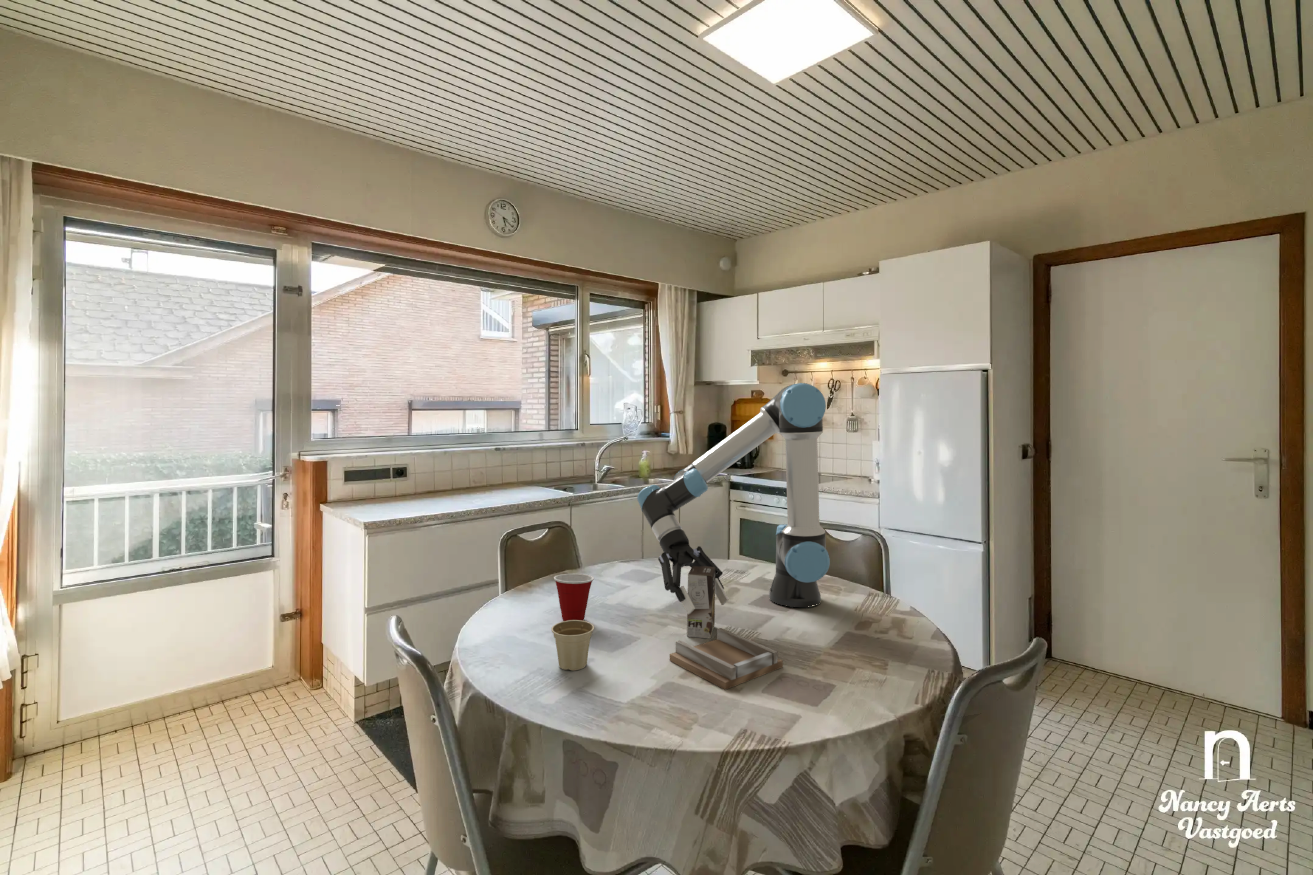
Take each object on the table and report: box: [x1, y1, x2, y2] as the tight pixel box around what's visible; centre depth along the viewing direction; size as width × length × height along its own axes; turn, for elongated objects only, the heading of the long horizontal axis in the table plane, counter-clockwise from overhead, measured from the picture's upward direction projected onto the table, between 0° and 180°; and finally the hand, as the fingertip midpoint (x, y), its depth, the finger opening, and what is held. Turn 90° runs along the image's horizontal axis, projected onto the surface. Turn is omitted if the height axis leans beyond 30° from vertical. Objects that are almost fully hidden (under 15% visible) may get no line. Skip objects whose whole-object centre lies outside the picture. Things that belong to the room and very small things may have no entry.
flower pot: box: [551, 620, 595, 671], centre depth 136 cm, size 9×9×9 cm
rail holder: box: [669, 627, 784, 690], centre depth 138 cm, size 18×18×4 cm
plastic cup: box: [553, 573, 595, 622], centre depth 165 cm, size 11×11×12 cm
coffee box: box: [686, 566, 716, 639], centre depth 157 cm, size 9×6×16 cm
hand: (708, 606), depth 155 cm, fingers open, 11 cm apart
